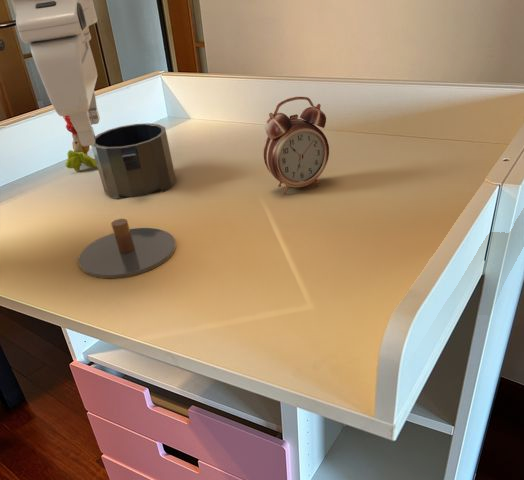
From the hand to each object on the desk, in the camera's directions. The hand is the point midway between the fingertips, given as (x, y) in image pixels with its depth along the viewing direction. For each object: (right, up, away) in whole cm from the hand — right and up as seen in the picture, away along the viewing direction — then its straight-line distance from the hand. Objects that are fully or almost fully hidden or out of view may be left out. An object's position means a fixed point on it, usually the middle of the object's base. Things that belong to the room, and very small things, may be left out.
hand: (91, 133), depth 73 cm
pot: (-1, +3, +35) cm, 35 cm away
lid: (+2, -14, +11) cm, 18 cm away
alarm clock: (+29, 0, +26) cm, 39 cm away
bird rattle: (-16, +11, +47) cm, 51 cm away
